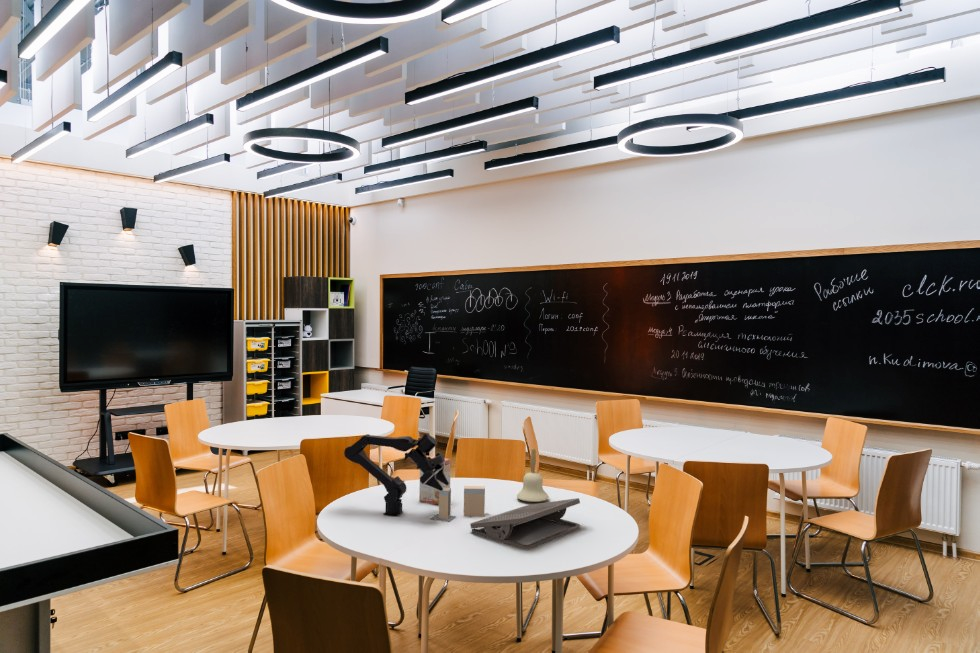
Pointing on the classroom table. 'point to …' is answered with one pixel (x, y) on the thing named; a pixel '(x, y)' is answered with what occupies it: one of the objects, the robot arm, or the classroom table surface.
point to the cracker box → (431, 493)
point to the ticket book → (474, 500)
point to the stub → (445, 503)
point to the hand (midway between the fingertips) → (445, 487)
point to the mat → (442, 518)
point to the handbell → (532, 484)
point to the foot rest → (525, 514)
